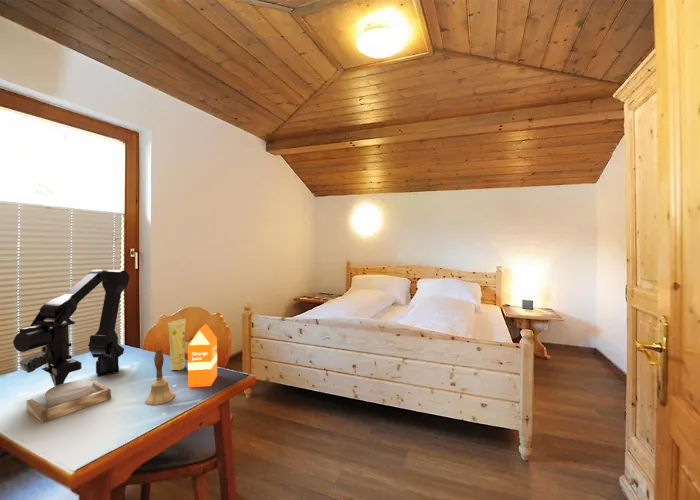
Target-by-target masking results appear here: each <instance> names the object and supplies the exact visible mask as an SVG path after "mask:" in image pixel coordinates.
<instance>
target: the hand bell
mask: <svg viewBox="0 0 700 500" xmlns="http://www.w3.org/2000/svg"><path fill="white" fill-rule="evenodd" d="M164 358H165V357H164V354H163V351H162V349H160V348H158V349H156V350H155V354H154V366H155V370H156V374H155V375H156V376H155V377H156V380H155V381H153V382H152V383H151V385H150V386H151V387H150V388H151V389H150V392H149V395H148V396H147V397H146V398H145V400H144V404H145V405H147V406H158V405H163V404H165V403H167V402H170V401H172V400H173V399H174V398H175V397H176V395H175V393H174V392H173V391H172V390H171V389H170V387H169V382H168V380H167V379H164V377H163V365H164V362H165V361H164Z"/></svg>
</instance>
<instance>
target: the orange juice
mask: <svg viewBox="0 0 700 500" xmlns="http://www.w3.org/2000/svg"><path fill="white" fill-rule="evenodd" d="M217 377H218V337H217V335H216V334H214V332H213V331H212V329H211V328H210V327H209V325H208V324H207V323H205V324H204V325H202V327H200V328H199V329H198V331H197V332H196V334H195V335H194V336H193V338H192V339H191V340H190V342H189V343H188V345H187V380H188V381H187V382H188V383H187V387H188V388H196V387H197V388H198V387H211V386H212V385H213V383H214V381H215V380H216V378H217Z"/></svg>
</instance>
